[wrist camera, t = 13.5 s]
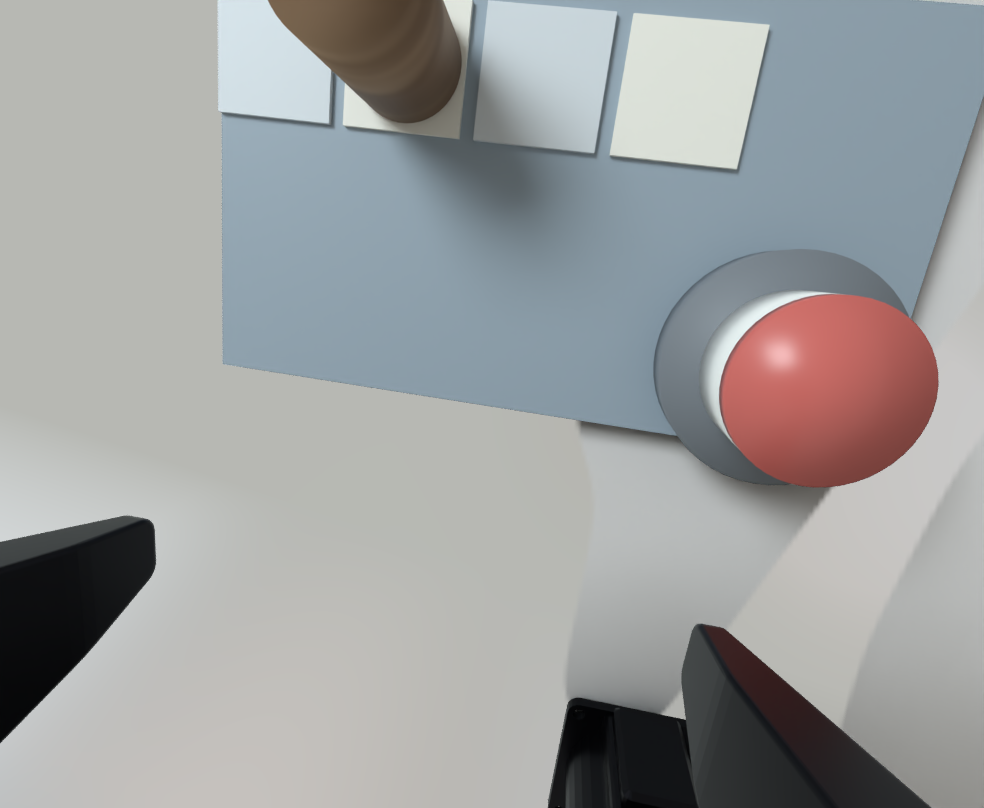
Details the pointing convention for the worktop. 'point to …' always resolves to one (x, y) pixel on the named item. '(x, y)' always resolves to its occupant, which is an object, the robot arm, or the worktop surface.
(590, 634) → the worktop surface
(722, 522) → the worktop surface
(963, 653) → the worktop surface
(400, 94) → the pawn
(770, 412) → the dome
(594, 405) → the board
